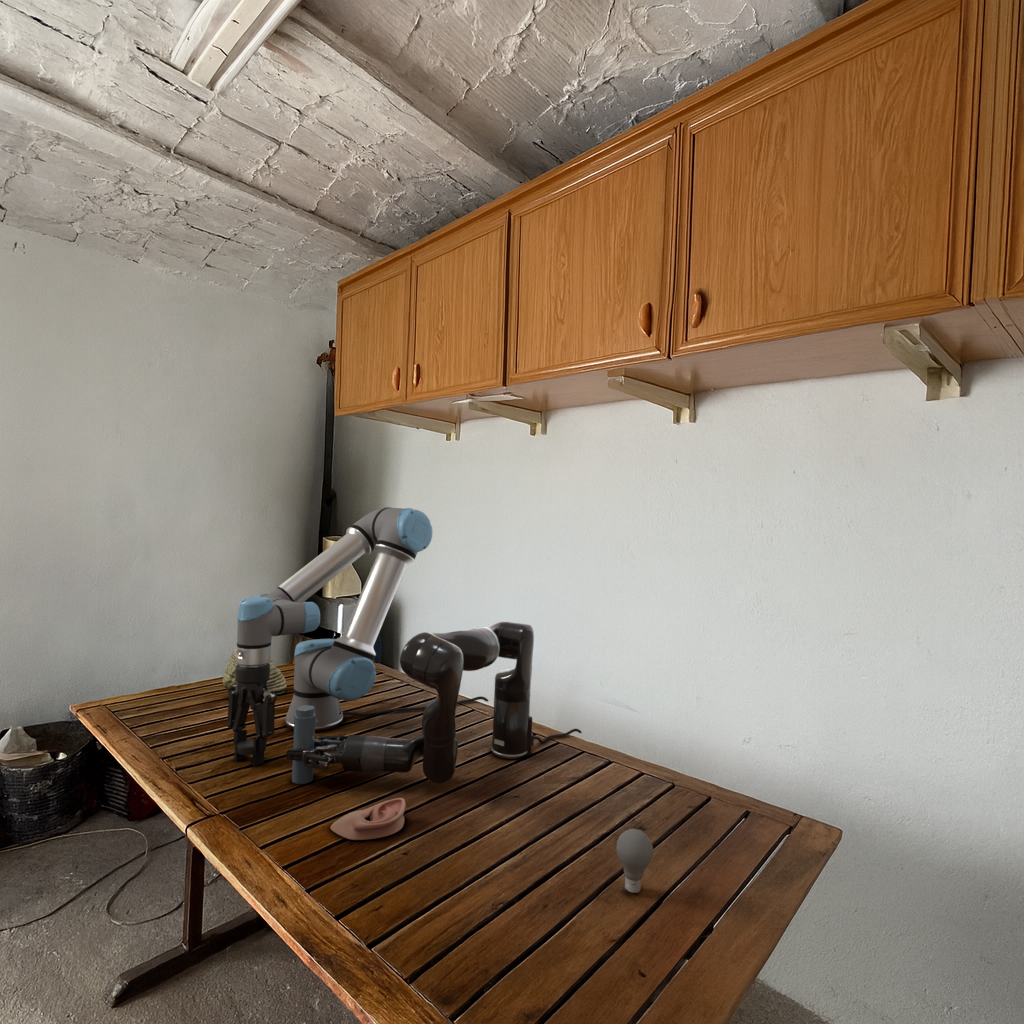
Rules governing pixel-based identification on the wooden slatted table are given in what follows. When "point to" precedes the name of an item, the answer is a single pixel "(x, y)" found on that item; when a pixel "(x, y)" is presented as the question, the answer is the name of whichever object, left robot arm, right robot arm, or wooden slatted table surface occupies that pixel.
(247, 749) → the lid
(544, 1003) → the wooden slatted table surface
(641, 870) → the light bulb
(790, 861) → the wooden slatted table surface
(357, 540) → the left robot arm
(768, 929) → the wooden slatted table surface
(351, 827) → the anatomical model
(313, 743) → the jar
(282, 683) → the fossil
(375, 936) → the wooden slatted table surface
